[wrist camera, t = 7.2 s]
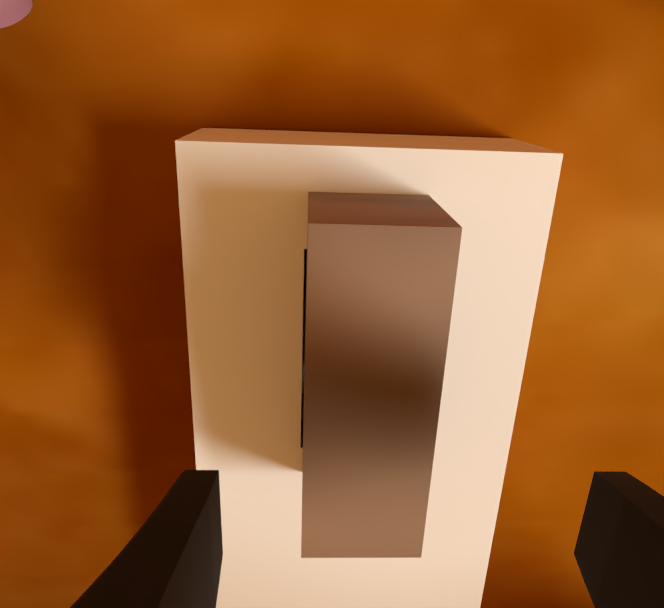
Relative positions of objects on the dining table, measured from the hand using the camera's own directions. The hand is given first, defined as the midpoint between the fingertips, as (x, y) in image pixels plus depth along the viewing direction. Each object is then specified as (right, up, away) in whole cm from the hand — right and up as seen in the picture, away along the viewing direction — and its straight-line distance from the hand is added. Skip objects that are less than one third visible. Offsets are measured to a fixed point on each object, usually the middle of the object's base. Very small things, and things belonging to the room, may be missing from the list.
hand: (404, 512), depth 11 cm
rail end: (-1, +4, +9) cm, 9 cm away
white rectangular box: (-1, +1, +11) cm, 11 cm away
